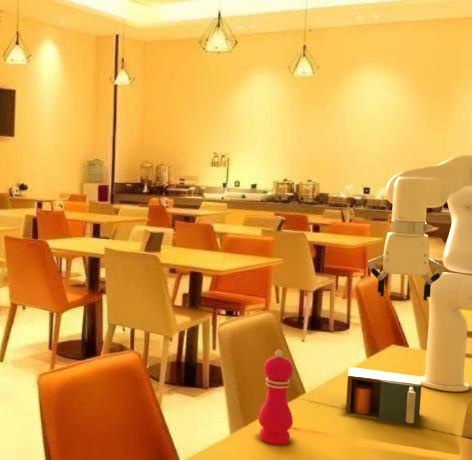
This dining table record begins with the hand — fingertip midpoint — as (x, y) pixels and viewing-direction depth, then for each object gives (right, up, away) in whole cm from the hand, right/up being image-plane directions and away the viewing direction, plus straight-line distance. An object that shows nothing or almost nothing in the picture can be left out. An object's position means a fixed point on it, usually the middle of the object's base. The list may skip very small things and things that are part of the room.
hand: (403, 297), depth 186 cm
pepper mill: (-38, -30, -20) cm, 52 cm away
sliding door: (-6, -29, -11) cm, 32 cm away
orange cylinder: (-11, -28, -2) cm, 30 cm away
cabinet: (-6, -29, -2) cm, 29 cm away
